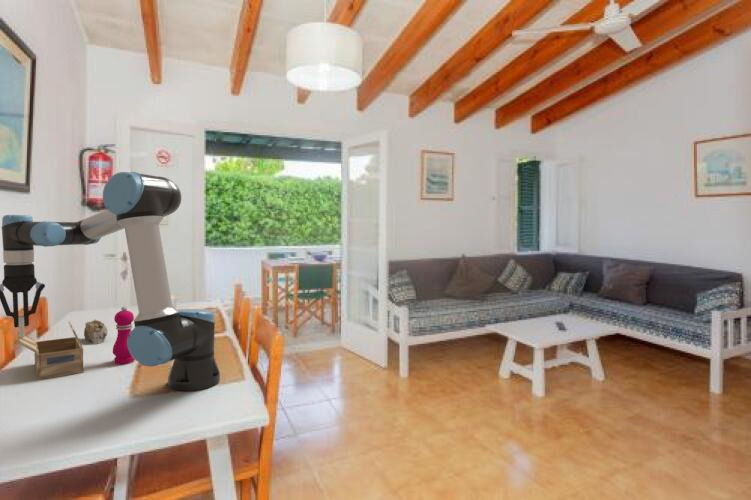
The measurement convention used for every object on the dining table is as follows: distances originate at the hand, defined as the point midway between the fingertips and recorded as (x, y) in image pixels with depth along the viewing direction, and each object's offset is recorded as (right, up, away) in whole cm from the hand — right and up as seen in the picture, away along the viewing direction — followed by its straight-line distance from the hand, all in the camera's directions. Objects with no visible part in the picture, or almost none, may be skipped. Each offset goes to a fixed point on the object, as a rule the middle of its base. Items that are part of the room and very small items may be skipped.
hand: (21, 336), depth 138 cm
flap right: (+11, -1, +9) cm, 14 cm away
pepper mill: (+24, -12, +15) cm, 31 cm away
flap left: (+1, -2, +1) cm, 2 cm away
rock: (-3, -10, +42) cm, 43 cm away
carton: (+7, -12, +7) cm, 15 cm away
